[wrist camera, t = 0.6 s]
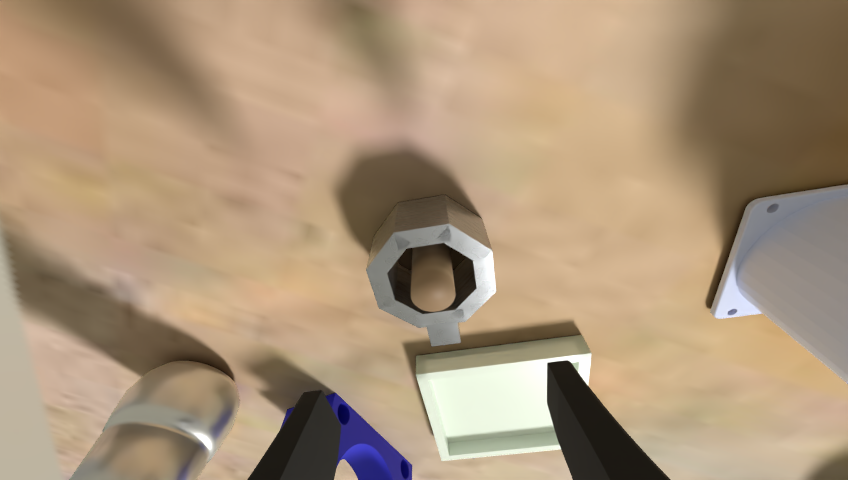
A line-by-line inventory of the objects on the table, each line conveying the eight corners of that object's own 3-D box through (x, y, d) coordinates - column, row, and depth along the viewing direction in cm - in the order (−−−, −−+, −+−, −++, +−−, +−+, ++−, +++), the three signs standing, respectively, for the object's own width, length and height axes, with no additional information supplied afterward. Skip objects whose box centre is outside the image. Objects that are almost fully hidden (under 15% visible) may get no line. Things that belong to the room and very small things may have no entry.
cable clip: (288, 407, 27) (256, 497, 21) (336, 390, 25) (314, 480, 20) (370, 474, 32) (360, 558, 27) (412, 463, 31) (410, 548, 26)
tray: (581, 334, 22) (591, 353, 21) (573, 428, 28) (581, 447, 27) (415, 355, 23) (415, 374, 22) (441, 441, 29) (441, 460, 28)
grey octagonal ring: (479, 188, 17) (489, 217, 14) (490, 299, 21) (500, 337, 18) (365, 208, 17) (355, 238, 15) (396, 312, 21) (393, 351, 19)
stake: (446, 228, 18) (452, 273, 15) (451, 258, 19) (458, 308, 16) (409, 233, 18) (406, 280, 15) (416, 264, 19) (415, 314, 16)
